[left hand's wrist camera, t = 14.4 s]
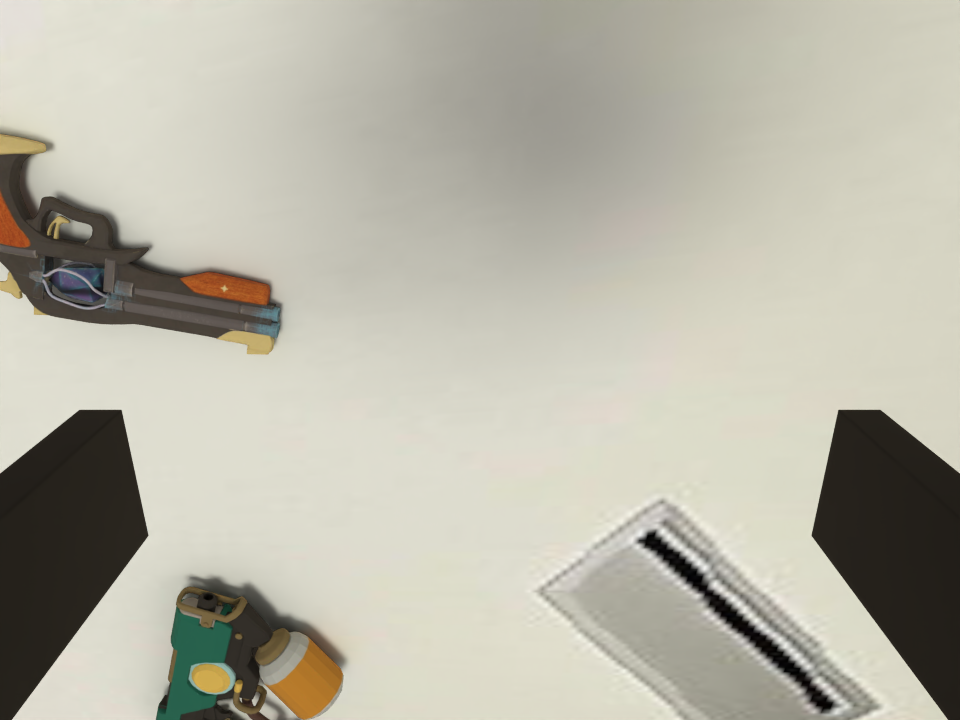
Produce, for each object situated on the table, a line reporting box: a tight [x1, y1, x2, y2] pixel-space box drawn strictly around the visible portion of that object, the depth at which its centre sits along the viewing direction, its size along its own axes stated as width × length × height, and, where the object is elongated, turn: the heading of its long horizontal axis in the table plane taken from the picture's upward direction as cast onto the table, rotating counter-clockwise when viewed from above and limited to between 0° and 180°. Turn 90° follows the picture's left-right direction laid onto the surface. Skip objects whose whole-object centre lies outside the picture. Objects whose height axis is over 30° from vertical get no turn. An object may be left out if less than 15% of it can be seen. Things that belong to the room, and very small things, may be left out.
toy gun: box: [0, 134, 280, 354], centre depth 40 cm, size 3×19×10 cm
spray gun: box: [156, 587, 344, 720], centre depth 52 cm, size 4×17×15 cm
